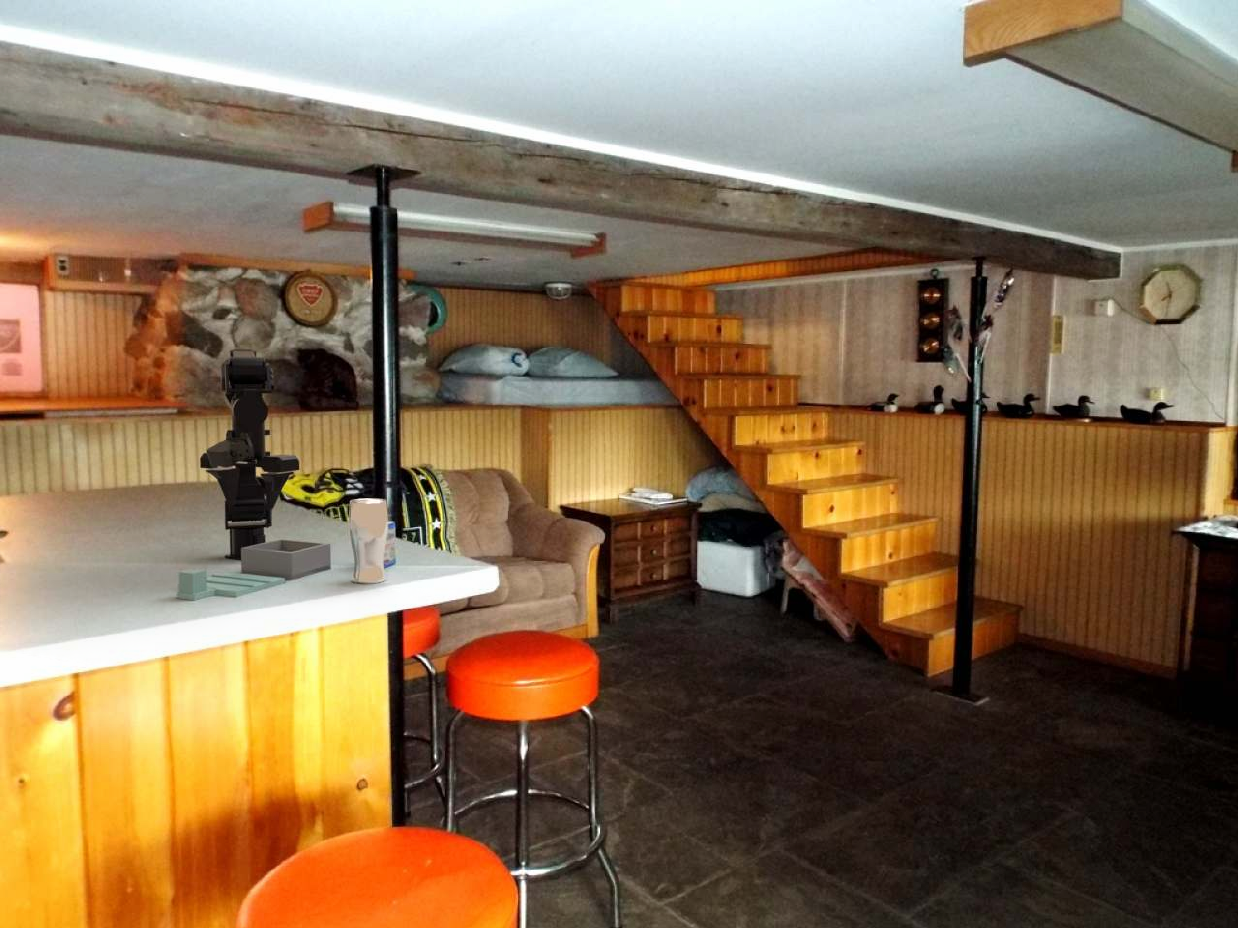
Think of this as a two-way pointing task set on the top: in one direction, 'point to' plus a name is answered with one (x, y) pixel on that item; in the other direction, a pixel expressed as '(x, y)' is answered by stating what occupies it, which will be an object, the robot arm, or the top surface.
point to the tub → (285, 558)
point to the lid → (221, 584)
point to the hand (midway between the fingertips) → (250, 507)
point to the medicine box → (390, 546)
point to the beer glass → (368, 539)
